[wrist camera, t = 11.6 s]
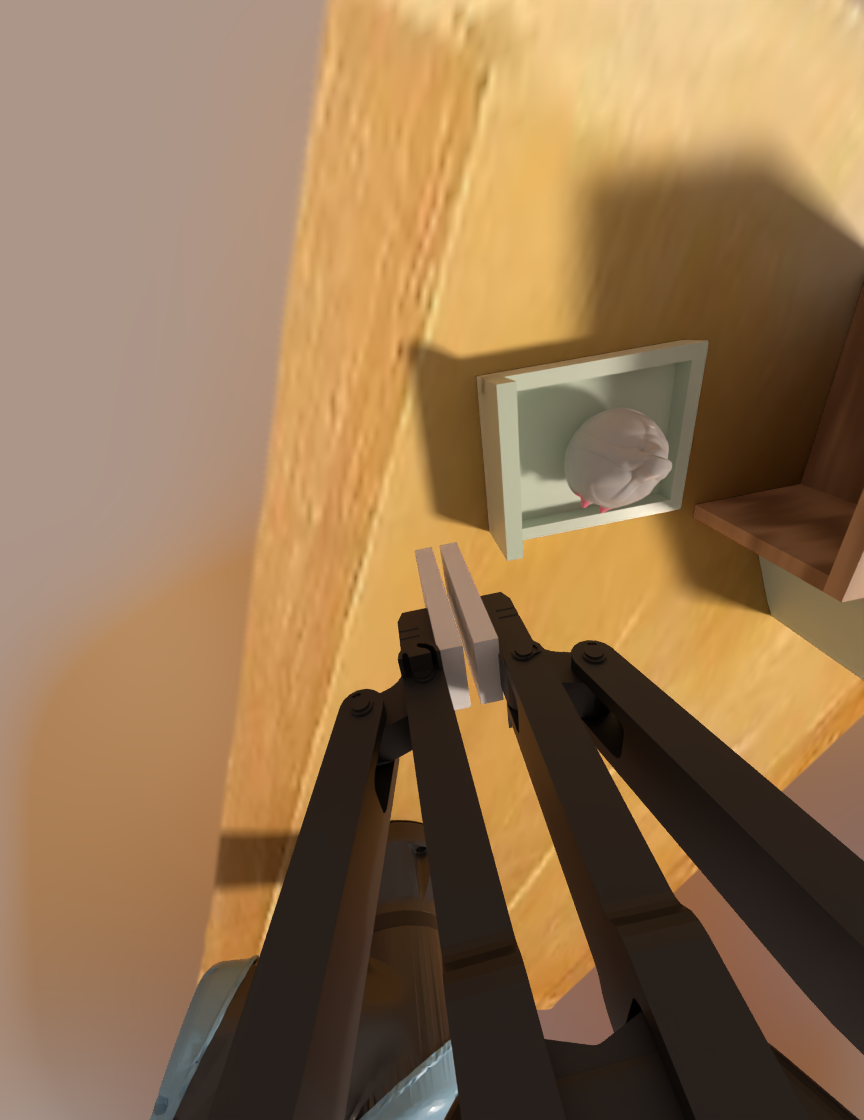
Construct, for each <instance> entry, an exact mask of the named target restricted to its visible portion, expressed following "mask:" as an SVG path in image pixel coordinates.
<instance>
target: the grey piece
mask: <svg viewBox="0 0 864 1120" xmlns="http://www.w3.org/2000/svg"><path fill="white" fill-rule="evenodd" d="M759 560H760V566H761V571H762V576H763V582H764V587H765V593H766V598H767V602H768V606H769V609H770V613H771V616H772V617H774V618H775V619H777V620H778V621H780V622H781V623H782V624H784V625H785V626H787V627H788V628H790V629H791V630H792V631H794V632H795V633H797V634H798V635H799V636H801V637H802V638H804V639H805V640H807V641H808V642H809V643H811V644H812V645H814V646H815V647H816V648H818V649H819V650H821V651H822V652H824V653H825V654H826V655H828V656H829V657H831V658H832V659H833V660H835V661H836V662H838V663H839V664H841V665H842V666H844V667H845V668H846V669H848V670H849V671H851V672H852V673H854V674H855V675H857V676H858V677H859V678H861V679H862V680H864V598H860V599H855V600H851V601H846V602H840V601H838V600H836V599H835V598H833V597H831V596H829V595H828V594H826V593H824V592H822V591H821V590H819V589H817V588H815V587H814V586H812V585H810V584H808V583H807V582H805V581H803V580H801V579H800V578H798V577H796V576H794V575H793V574H791V573H789V572H787V571H786V570H784V569H782V568H780V567H779V566H777V565H775V564H774V563H772V562H770V561H768V560H767V559H765V558H763V557H761V556H760V555H759Z"/></svg>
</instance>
